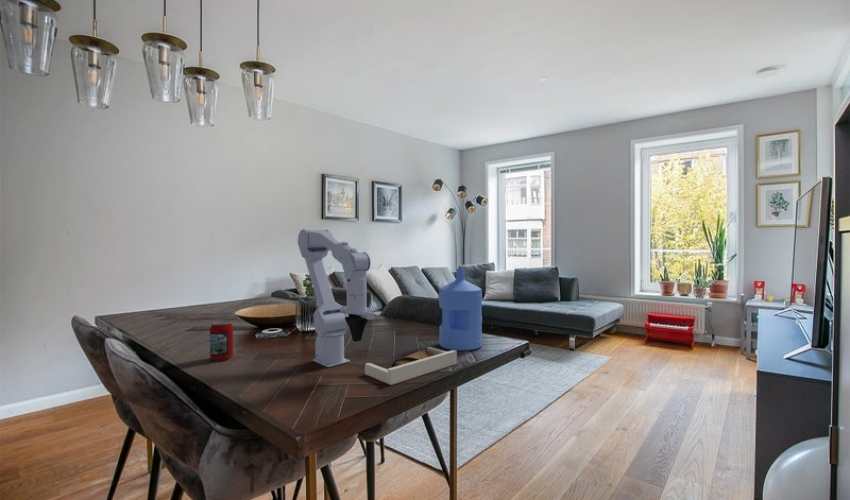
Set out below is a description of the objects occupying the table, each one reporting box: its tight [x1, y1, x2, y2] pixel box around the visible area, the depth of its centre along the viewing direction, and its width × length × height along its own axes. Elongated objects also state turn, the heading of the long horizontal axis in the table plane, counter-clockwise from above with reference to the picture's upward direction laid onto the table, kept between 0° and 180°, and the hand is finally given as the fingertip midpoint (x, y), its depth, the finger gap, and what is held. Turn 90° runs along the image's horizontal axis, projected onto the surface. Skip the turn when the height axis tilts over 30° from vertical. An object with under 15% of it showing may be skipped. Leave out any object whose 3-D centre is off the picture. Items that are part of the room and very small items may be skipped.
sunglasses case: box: [390, 347, 434, 368], centre depth 123 cm, size 18×7×7 cm
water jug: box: [438, 268, 483, 352], centre depth 145 cm, size 16×16×28 cm
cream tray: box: [364, 346, 458, 386], centre depth 120 cm, size 12×26×4 cm, turn 133°
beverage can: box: [209, 320, 234, 362], centre depth 131 cm, size 7×7×12 cm
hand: (357, 340), depth 116 cm, fingers closed
